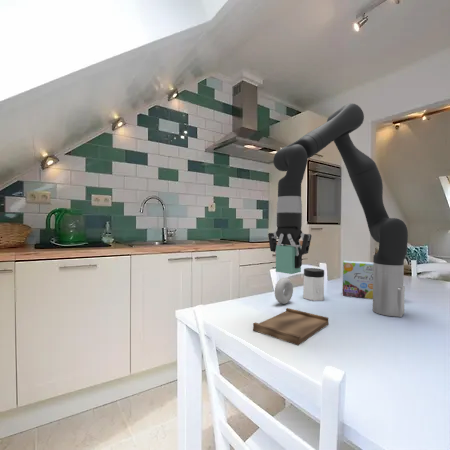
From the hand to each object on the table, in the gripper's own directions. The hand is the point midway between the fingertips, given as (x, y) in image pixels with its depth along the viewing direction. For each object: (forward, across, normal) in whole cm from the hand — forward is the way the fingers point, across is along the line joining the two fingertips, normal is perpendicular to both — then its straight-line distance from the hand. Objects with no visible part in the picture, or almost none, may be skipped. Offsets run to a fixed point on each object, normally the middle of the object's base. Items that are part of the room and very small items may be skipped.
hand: (288, 266), depth 83 cm
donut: (+18, +12, -18) cm, 28 cm away
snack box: (+18, -9, -53) cm, 56 cm away
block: (+2, 0, 0) cm, 2 cm away
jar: (+18, +8, -34) cm, 39 cm away
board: (+17, -2, +2) cm, 18 cm away
